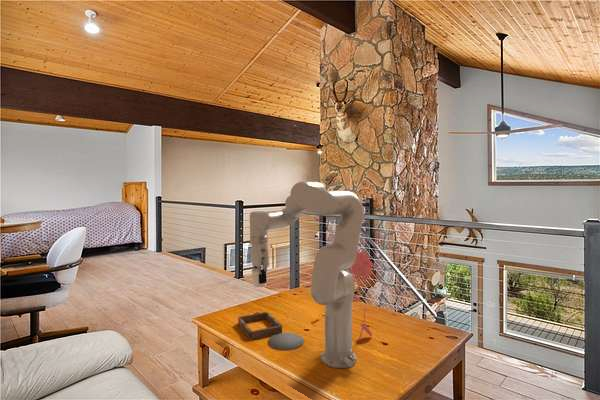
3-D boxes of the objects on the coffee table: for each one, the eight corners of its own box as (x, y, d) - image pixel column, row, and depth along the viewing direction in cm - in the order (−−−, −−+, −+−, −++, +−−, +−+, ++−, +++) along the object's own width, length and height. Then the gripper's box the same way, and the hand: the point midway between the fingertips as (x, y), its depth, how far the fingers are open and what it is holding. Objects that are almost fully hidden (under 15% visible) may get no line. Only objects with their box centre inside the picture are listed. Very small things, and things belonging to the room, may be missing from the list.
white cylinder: (248, 286, 145) (248, 270, 144) (257, 282, 151) (257, 266, 150) (261, 288, 141) (261, 271, 141) (270, 284, 147) (270, 268, 147)
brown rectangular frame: (283, 333, 142) (283, 326, 142) (250, 340, 136) (250, 332, 135) (267, 317, 158) (267, 311, 158) (237, 323, 152) (237, 317, 152)
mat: (309, 345, 131) (309, 344, 131) (276, 353, 125) (276, 352, 125) (294, 331, 143) (294, 330, 143) (263, 338, 137) (263, 337, 137)
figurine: (375, 348, 128) (376, 256, 127) (326, 327, 147) (327, 247, 147) (397, 337, 138) (399, 252, 138) (349, 319, 158) (350, 244, 157)
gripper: (274, 241, 139) (275, 284, 140) (260, 236, 155) (261, 275, 155) (257, 243, 136) (258, 287, 136) (244, 238, 152) (245, 277, 152)
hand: (259, 280), depth 146 cm, fingers closed on white cylinder, 6 cm apart
